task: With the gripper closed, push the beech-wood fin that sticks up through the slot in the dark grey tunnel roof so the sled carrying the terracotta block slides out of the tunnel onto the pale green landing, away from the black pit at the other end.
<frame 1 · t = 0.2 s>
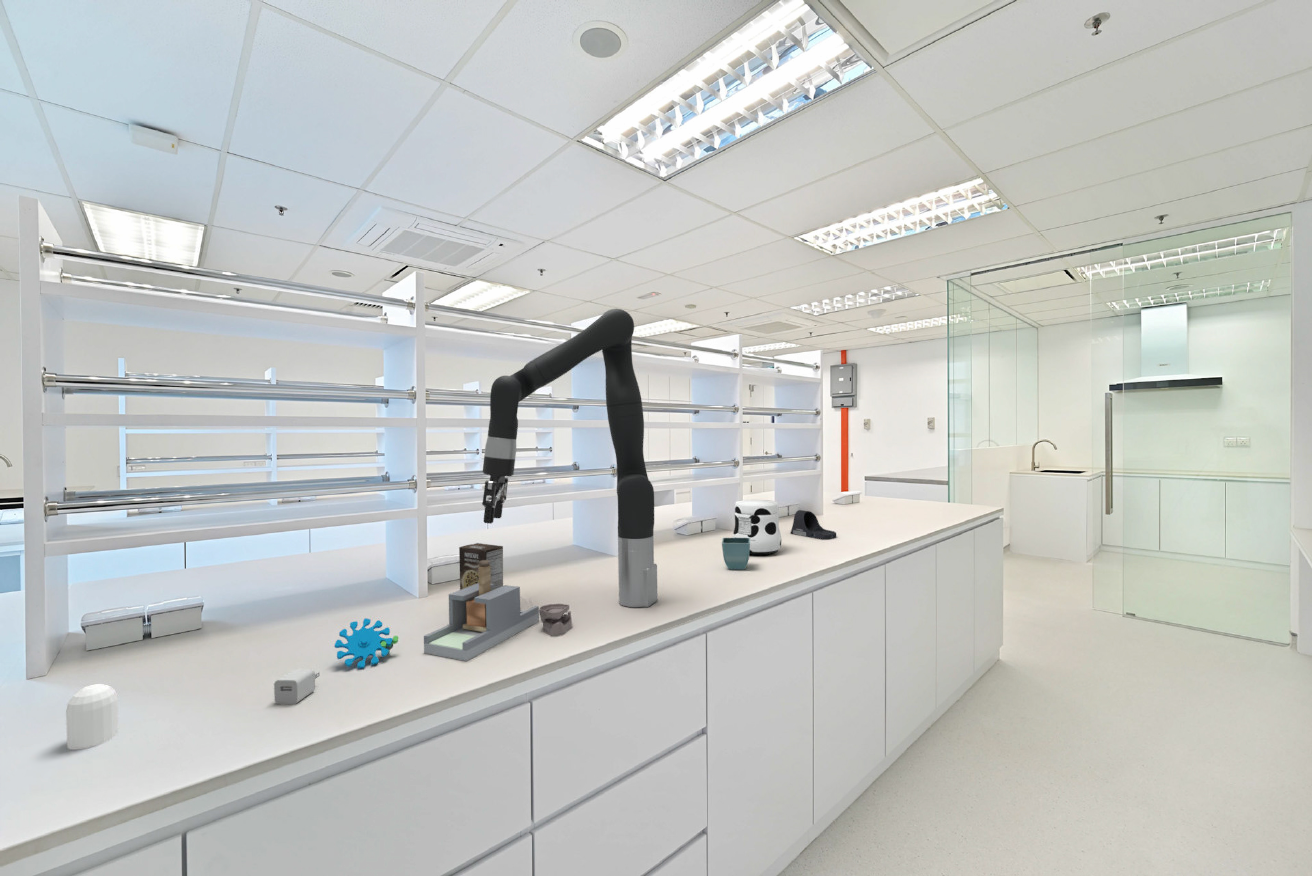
hand: (492, 520, 138), 23 cm above the counter, tool pointing down, fingers open, 8 cm apart
gear: (367, 662, 108), on the counter
tunnel: (485, 636, 121), on the counter
milk container: (757, 552, 199), on the counter
flower pot: (736, 568, 177), on the counter
usb wall charger: (300, 695, 95), on the counter
dental mold: (555, 630, 124), on the counter
sight: (814, 536, 228), on the counter
sled: (484, 593, 121), point 9 cm above the counter, slide at 0.0 cm
coffee box: (482, 610, 139), on the counter
white domed cylinder: (93, 740, 82), on the counter
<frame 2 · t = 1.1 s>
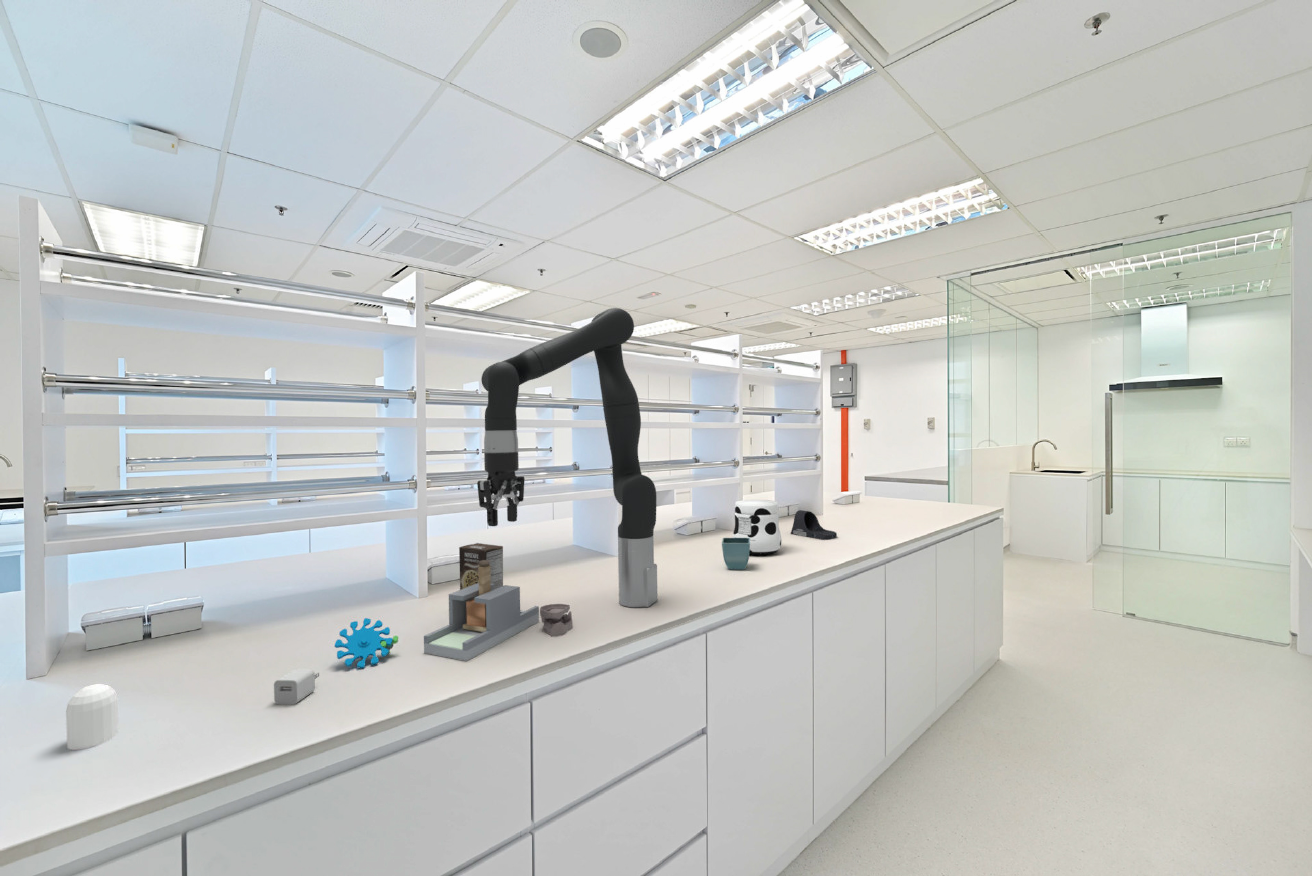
hand: (502, 523, 127), 24 cm above the counter, tool pointing down, fingers open, 6 cm apart
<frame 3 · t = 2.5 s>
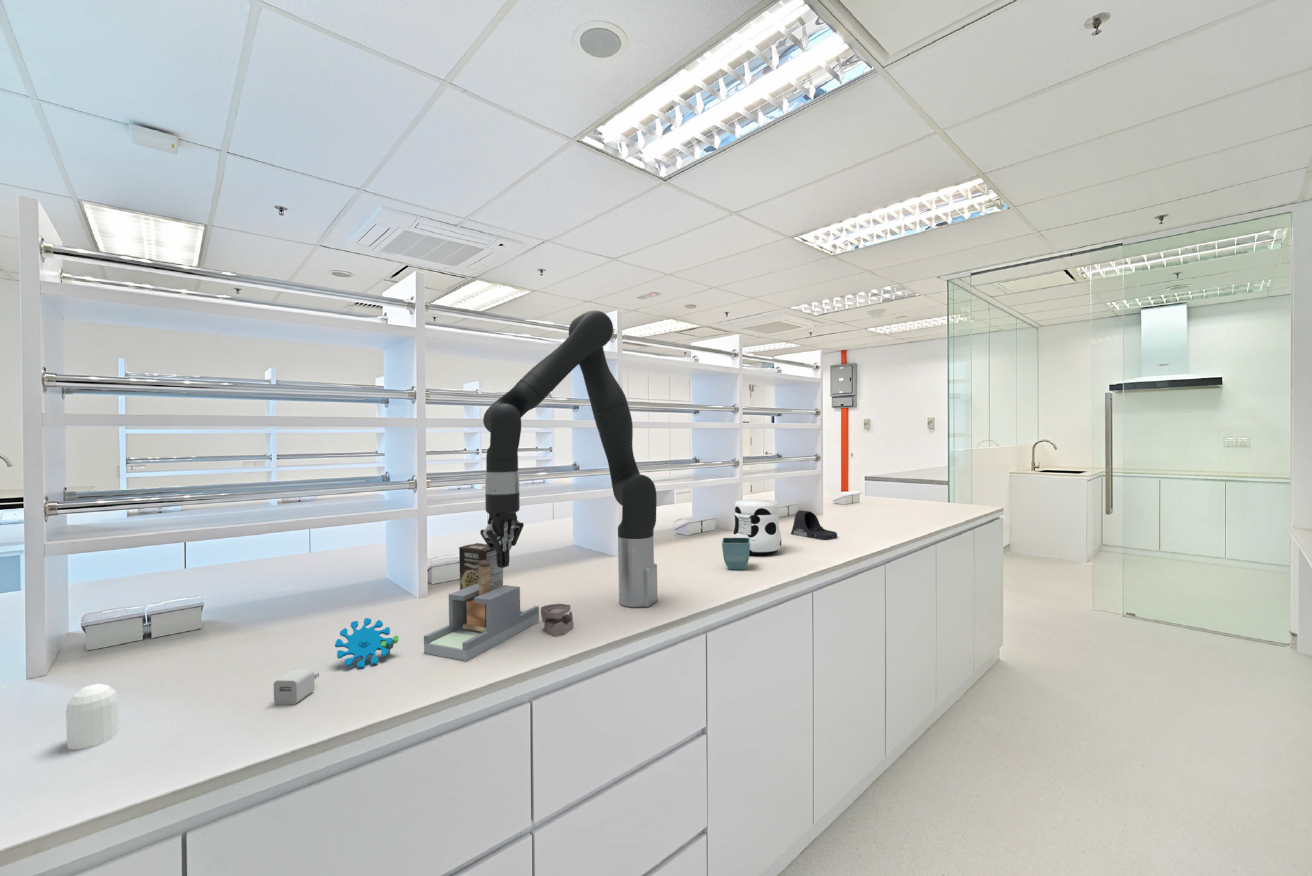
hand: (503, 566, 127), 14 cm above the counter, tool pointing down, fingers closed
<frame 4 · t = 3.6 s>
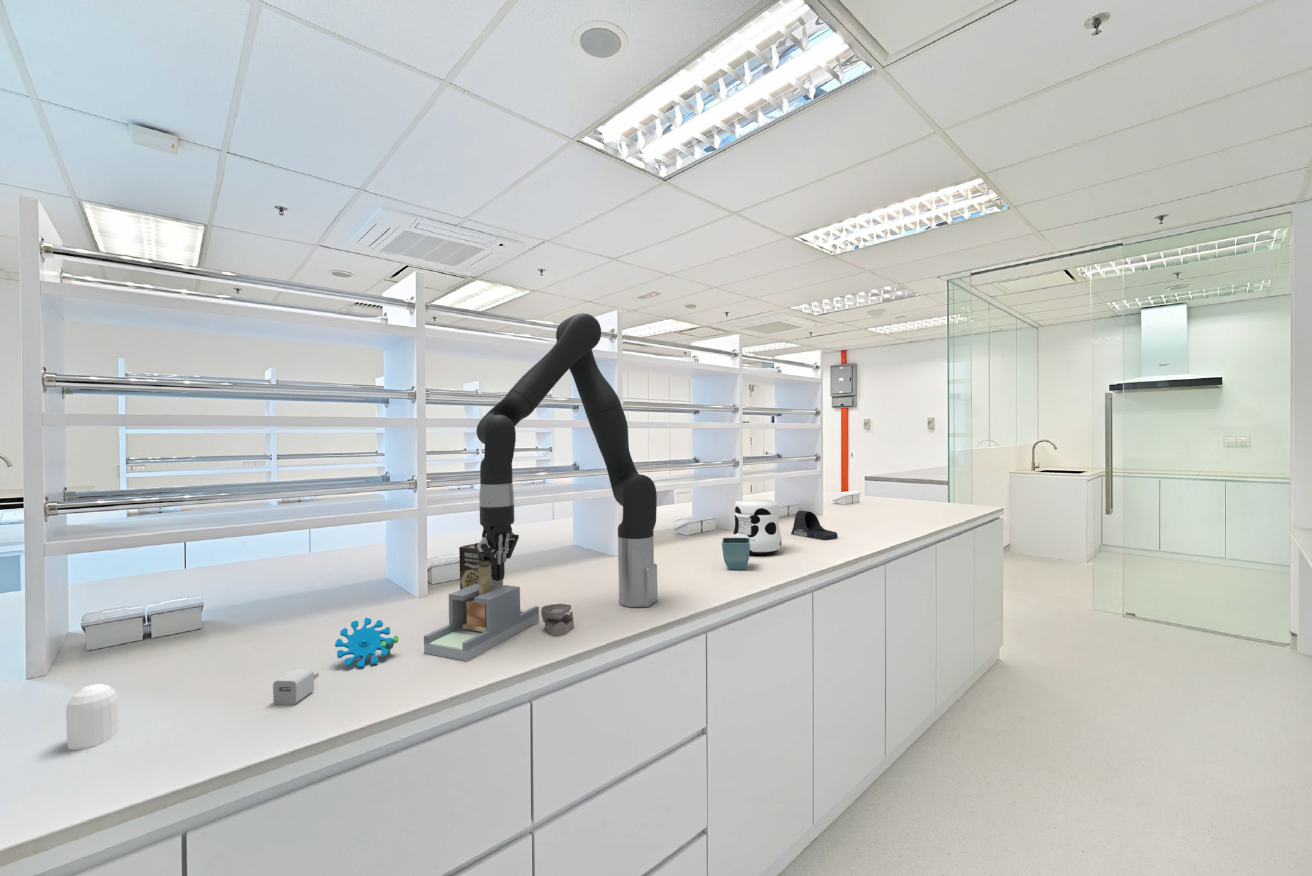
hand: (498, 579, 125), 11 cm above the counter, tool pointing down, fingers closed
sled: (484, 593, 121), point 9 cm above the counter, slide at 0.0 cm, touching hand
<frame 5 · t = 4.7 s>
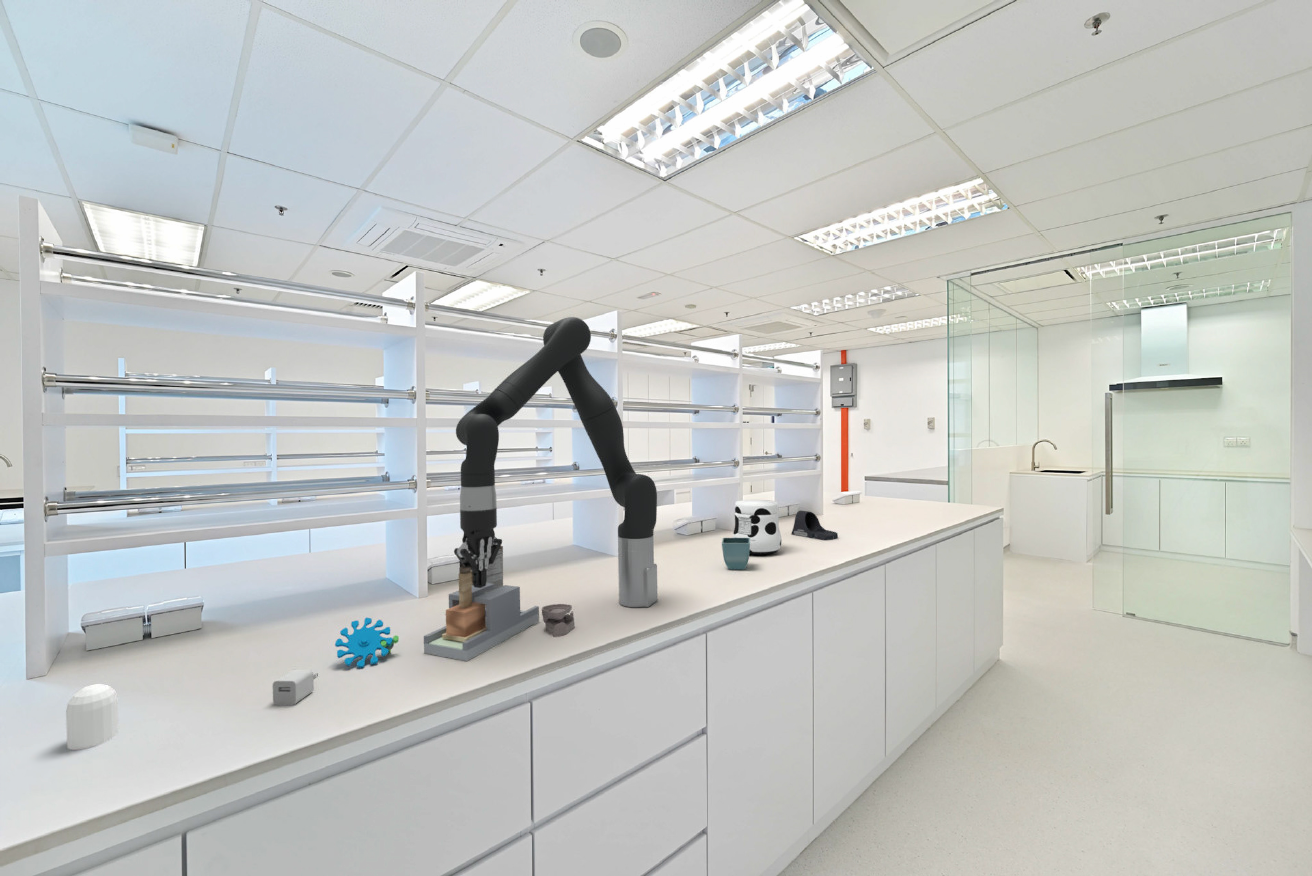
hand: (479, 586, 120), 11 cm above the counter, tool pointing down, fingers closed
sled: (465, 601, 115), point 9 cm above the counter, slide at 6.0 cm, touching hand
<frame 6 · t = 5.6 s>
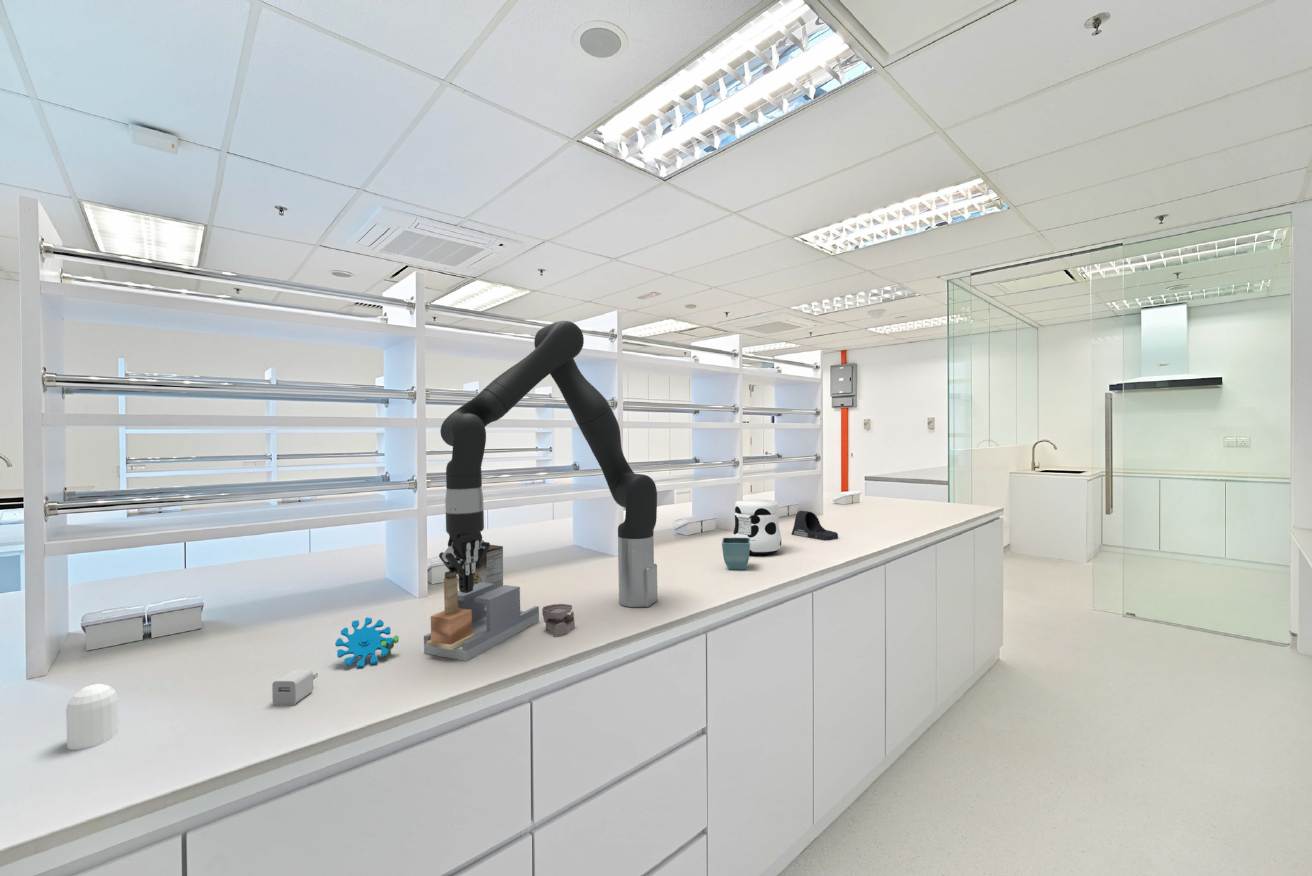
hand: (466, 591, 116), 11 cm above the counter, tool pointing down, fingers closed
sled: (451, 606, 111), point 9 cm above the counter, slide at 10.0 cm, touching hand
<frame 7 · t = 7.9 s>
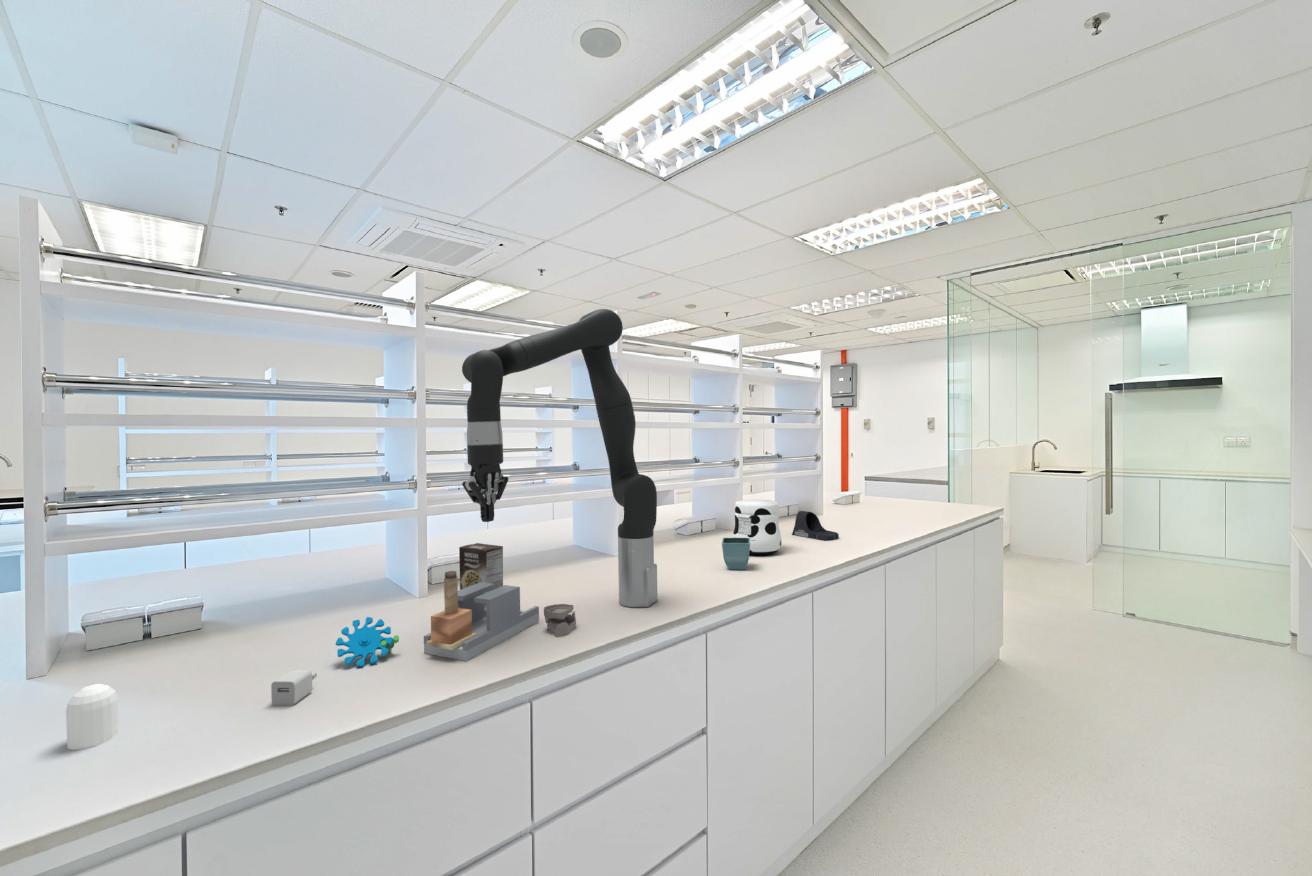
hand: (487, 521, 122), 25 cm above the counter, tool pointing down, fingers closed
sled: (451, 606, 111), point 9 cm above the counter, slide at 10.0 cm
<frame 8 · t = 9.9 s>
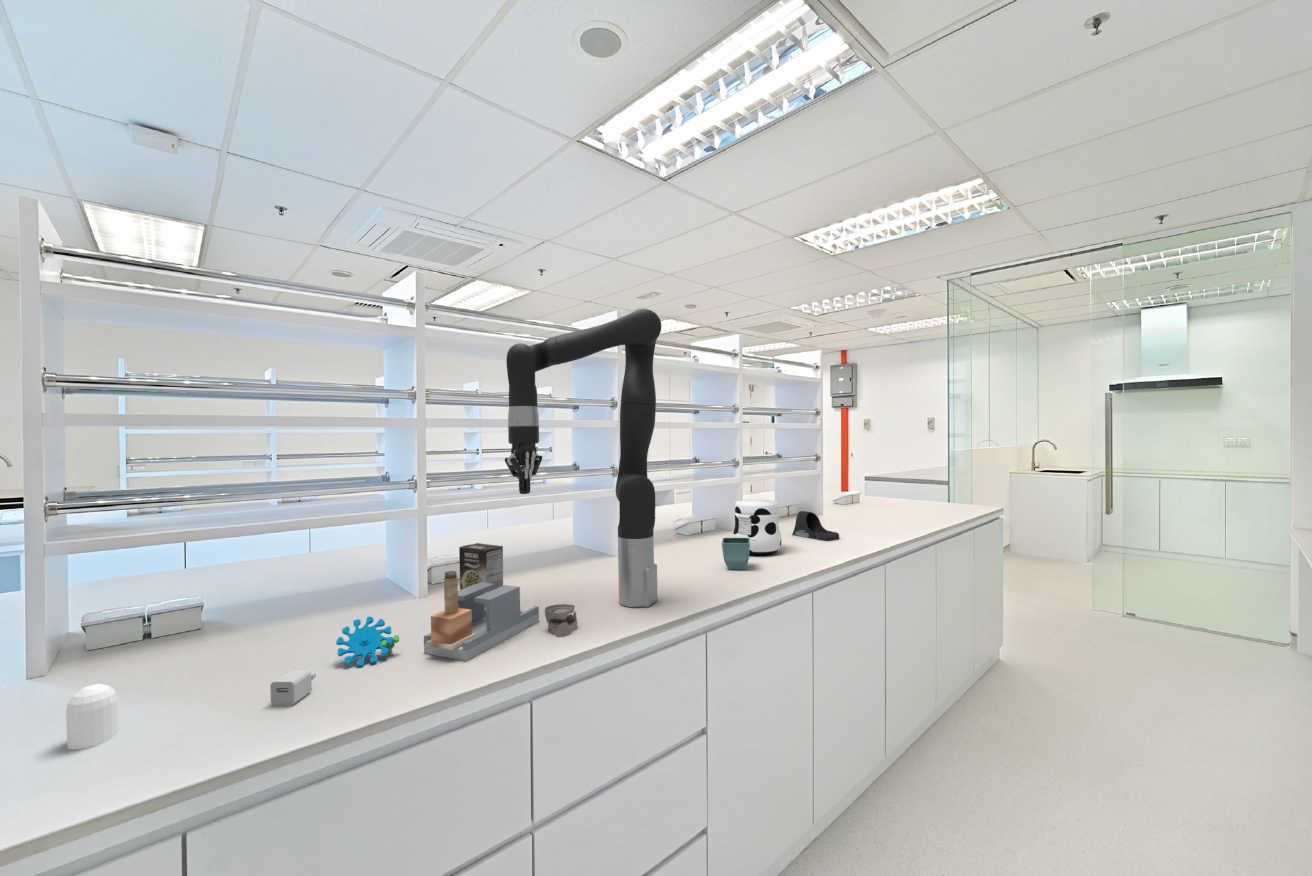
hand: (524, 493, 139), 29 cm above the counter, tool pointing down, fingers closed
at the end: sled slide at 10.0 cm; sled inside the target area (1.0 cm from its centre), resting on tunnel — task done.
